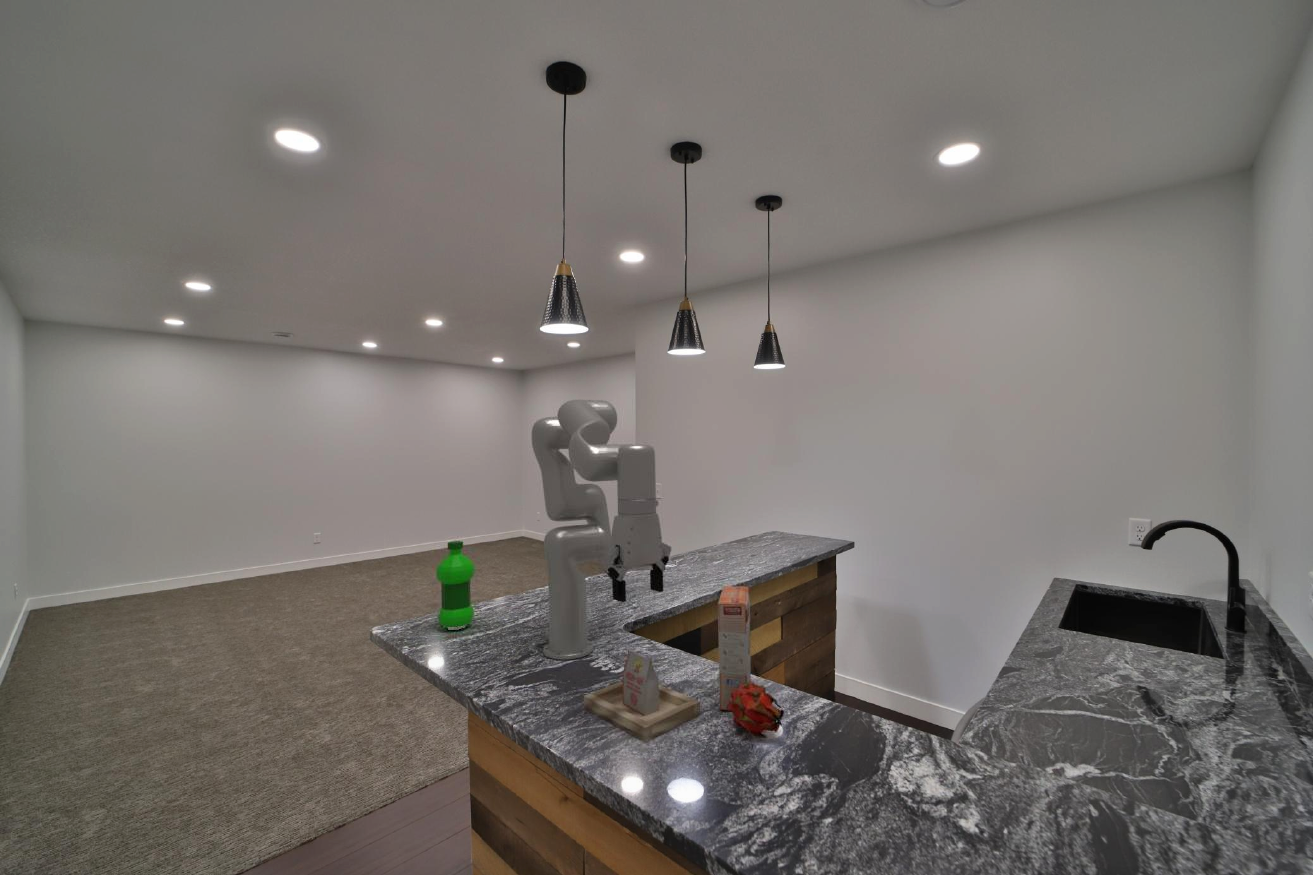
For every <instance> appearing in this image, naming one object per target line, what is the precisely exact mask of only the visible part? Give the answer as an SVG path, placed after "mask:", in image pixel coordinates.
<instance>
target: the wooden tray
mask: <svg viewBox="0 0 1313 875" xmlns="http://www.w3.org/2000/svg"><path fill="white" fill-rule="evenodd" d="M583 700H584V704H583V705H584V710H586V711H587V712H589V713H591V714H593V715H595V716H596V717H598V718H601V719H602V720H603V721H606V722H607V723H610V724H612V725H613V726H615V727H617V728H618V729H620V730H622V731H624V732H626V733H628V734H629V735H631V736H633V737H635V738H637V739H638V740H640V741H643V742H644V743H647V742H650V741H651V740H653V739H656V738H657V737H659V736H662V735H664V734H665V733H667V732H669V731H671V730H673V729H675V728H677V727H679V726H681V725H683V724H685V723H687V722H689V721H691V720H693V719H695V718H698V716H700V715H701V701H699V700H697V699H695V698H692V697H690V696H689V695H685V694H682V693H681V692H678V691H676V690H674V689H672V688H670V687H669V688H668V687H667V686H663V685H662V684H659V711H656V712H654V713H652V714H649V715H647V716H643V715H641V714H639V713H637V712H636V711H634V710H632V709H630V708H628V707H627V706H625V705H623V687H622V681H619V682H616V683H615V684H611V685H609V686H606V687H604V688H602V689H599V690H597V691H594V692H591V693H588V694H586V695H584V696H583Z"/></svg>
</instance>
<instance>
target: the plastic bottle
mask: <svg viewBox="0 0 1313 875" xmlns="http://www.w3.org/2000/svg"><path fill="white" fill-rule="evenodd" d="M462 549H464V541H462V540H460V541H459V540H457V541H456V540H455V541H449V542H447V550H449V554H448V555H447V556H446V557H445V558H444V559H443V560H442V561H441V562H440V563H439V564H438V565H437V568H436V570H435V572H436V578H437V580H438V581H439V583H440V584H441V590H440V592H441V608H440V610H439V613H440V614H439V613H438V618H437V619H438V622H439V624H440V625H441V626H442V625H443V626H445V627H458V626H463V625H466V624H468V625H469V624H470V623H471V621H472V620H473V619H474V616H475V610H474V608H473V605H472V604H471V580H472V579H473V577H474V575H475V570H476V569H475V564H474V562H473V561H472V560H470V558H468V557H467V556H465V555H464V554H463V553H462ZM443 626H442V627H443ZM445 627H444V628H445Z"/></svg>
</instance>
